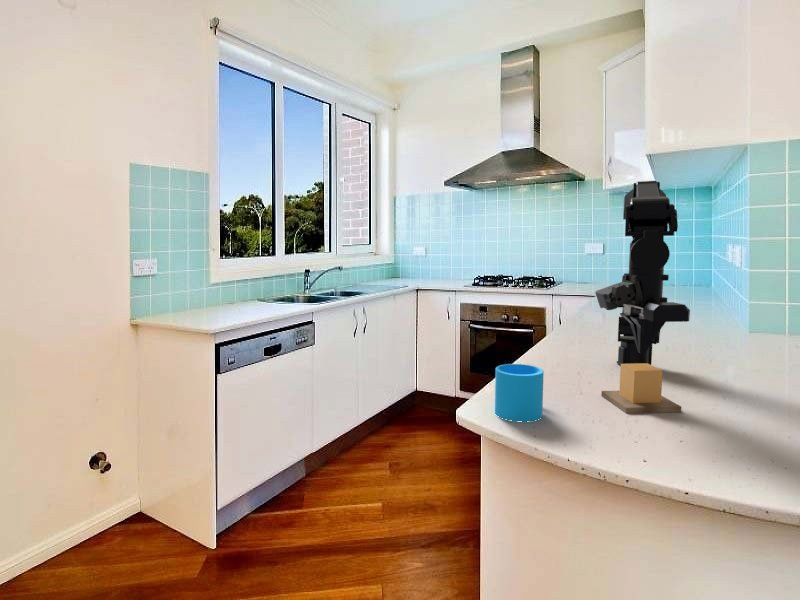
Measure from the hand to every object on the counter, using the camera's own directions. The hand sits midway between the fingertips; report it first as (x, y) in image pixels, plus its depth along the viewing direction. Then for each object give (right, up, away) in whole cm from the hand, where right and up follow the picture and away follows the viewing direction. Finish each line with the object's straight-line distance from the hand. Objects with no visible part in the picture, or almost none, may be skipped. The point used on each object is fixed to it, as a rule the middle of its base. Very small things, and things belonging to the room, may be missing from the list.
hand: (641, 352), depth 93 cm
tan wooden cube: (0, -9, +1) cm, 9 cm away
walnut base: (0, -10, +1) cm, 10 cm away
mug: (-23, -11, -3) cm, 25 cm away
